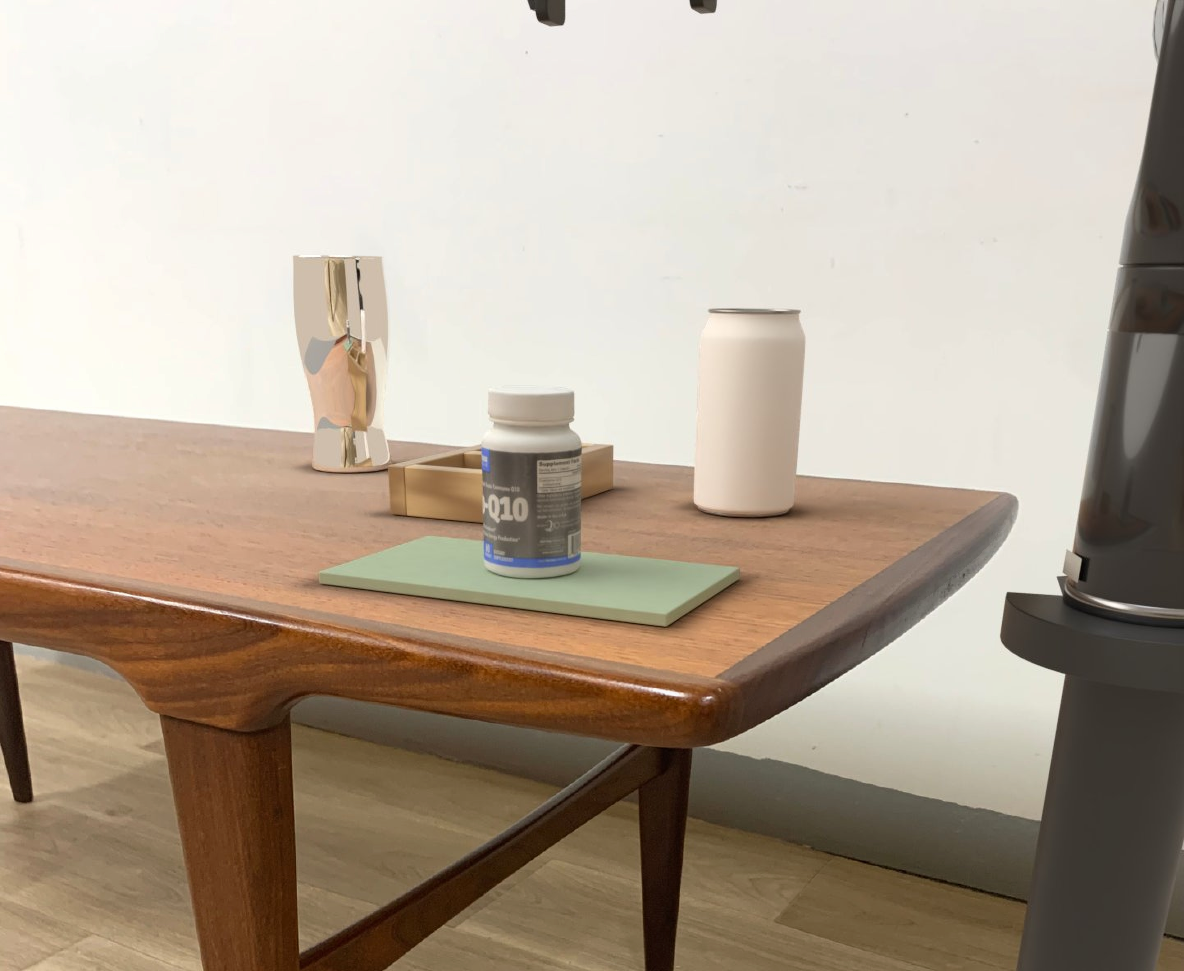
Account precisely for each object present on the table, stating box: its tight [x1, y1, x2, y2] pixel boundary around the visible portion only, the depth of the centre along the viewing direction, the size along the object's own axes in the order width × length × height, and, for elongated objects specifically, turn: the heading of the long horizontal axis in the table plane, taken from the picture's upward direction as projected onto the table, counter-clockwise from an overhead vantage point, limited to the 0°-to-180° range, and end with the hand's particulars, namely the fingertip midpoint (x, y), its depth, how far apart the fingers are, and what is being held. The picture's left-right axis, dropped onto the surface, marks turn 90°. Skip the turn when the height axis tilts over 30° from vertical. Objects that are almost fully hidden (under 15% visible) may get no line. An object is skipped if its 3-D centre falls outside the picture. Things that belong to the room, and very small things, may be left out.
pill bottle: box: [481, 385, 582, 579], centre depth 58 cm, size 5×5×8 cm
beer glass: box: [291, 254, 393, 474], centre depth 92 cm, size 7×7×15 cm
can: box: [693, 307, 806, 518], centre depth 76 cm, size 6×6×12 cm
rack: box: [387, 442, 614, 524], centre depth 80 cm, size 8×16×3 cm, turn 156°
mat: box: [318, 535, 741, 628], centre depth 59 cm, size 18×10×1 cm, turn 65°
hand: (624, 17), depth 63 cm, fingers open, 8 cm apart
